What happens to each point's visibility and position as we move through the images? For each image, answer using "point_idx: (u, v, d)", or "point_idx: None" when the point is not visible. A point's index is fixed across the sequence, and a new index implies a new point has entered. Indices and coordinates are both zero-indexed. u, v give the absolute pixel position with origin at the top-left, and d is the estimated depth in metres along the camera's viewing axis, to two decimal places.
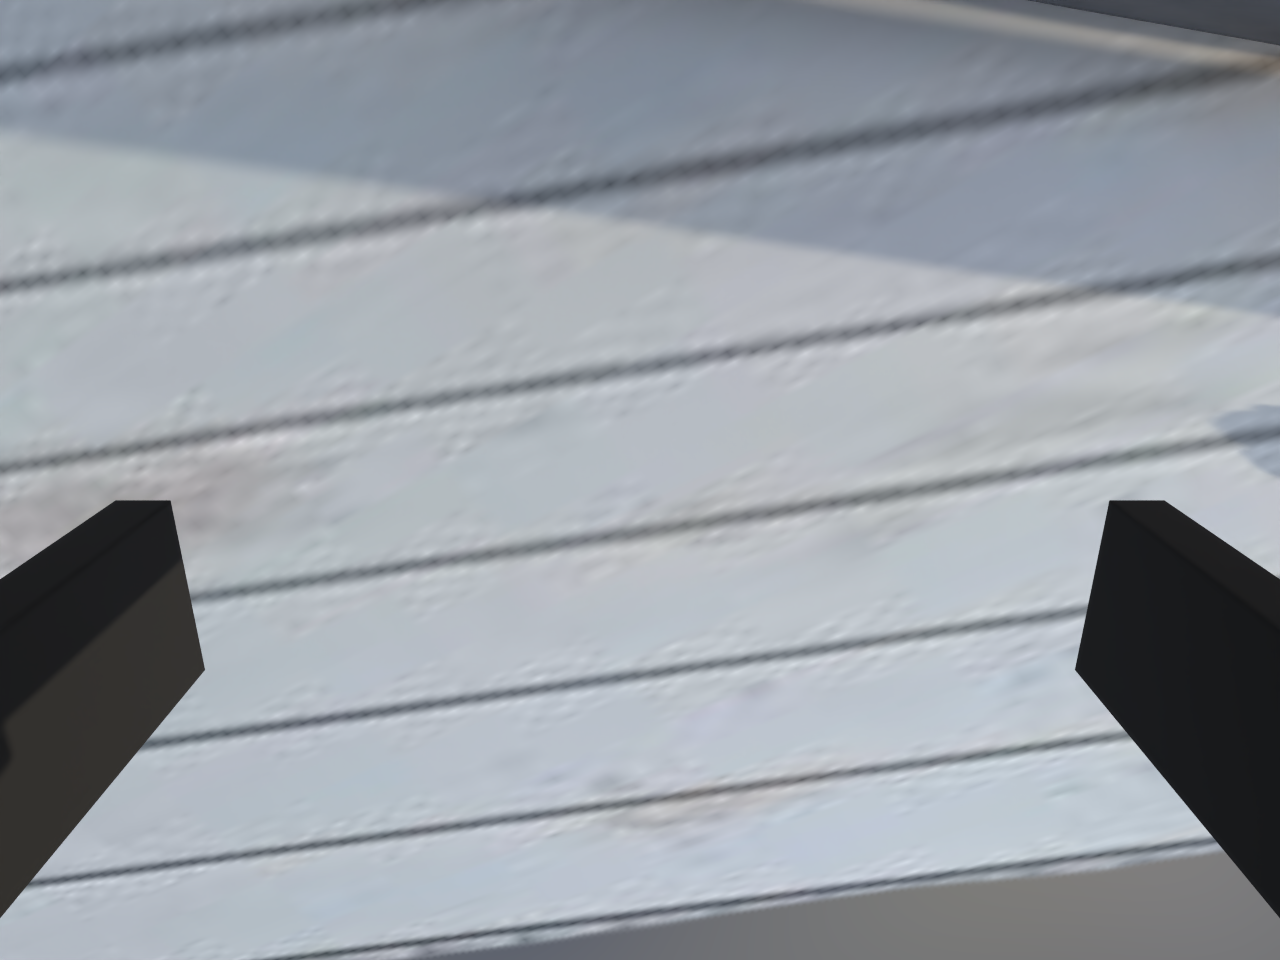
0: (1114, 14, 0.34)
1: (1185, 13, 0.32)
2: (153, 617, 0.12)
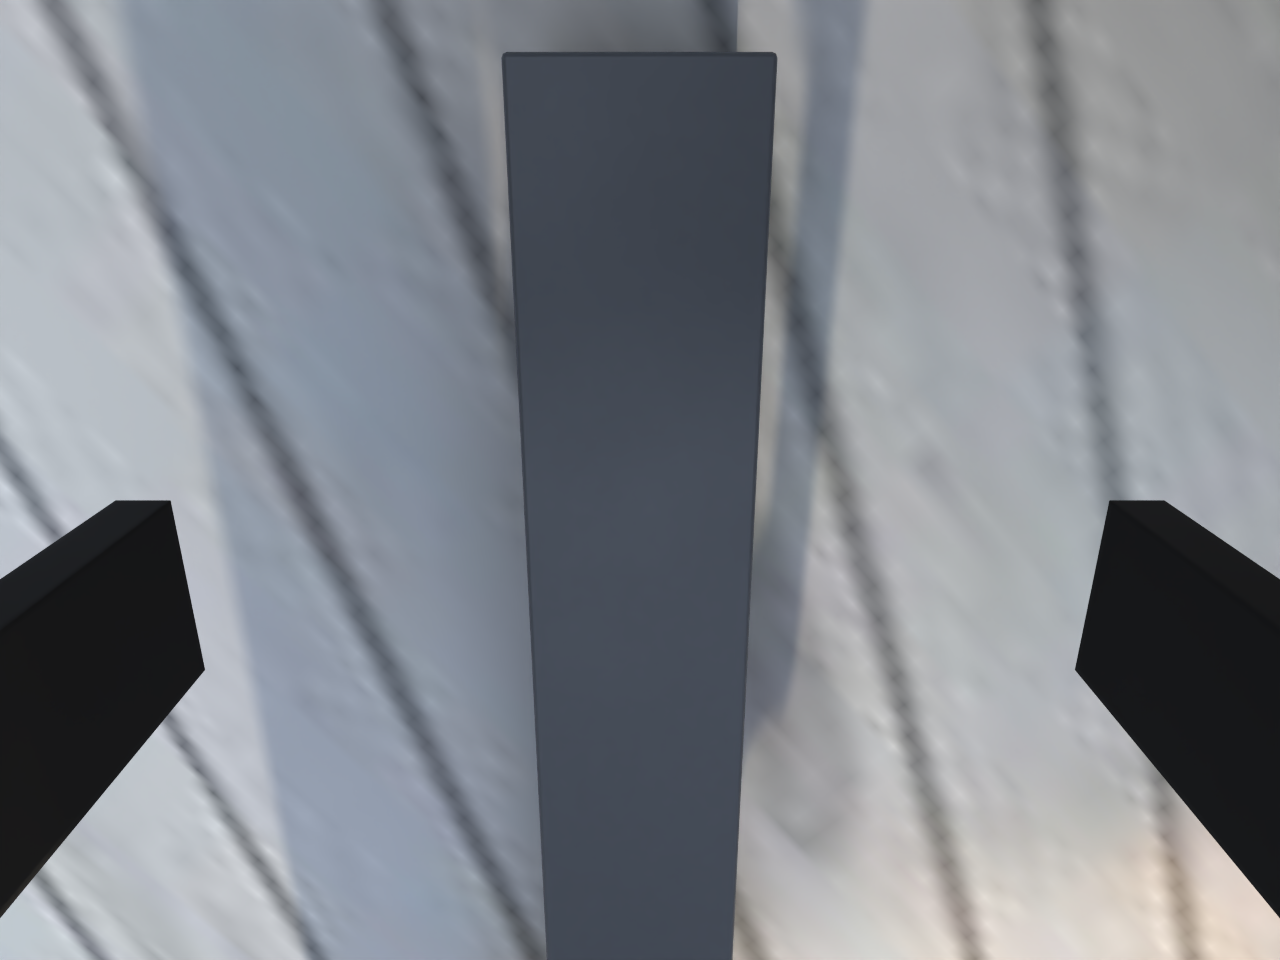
0: None
1: None
2: (153, 617, 0.12)
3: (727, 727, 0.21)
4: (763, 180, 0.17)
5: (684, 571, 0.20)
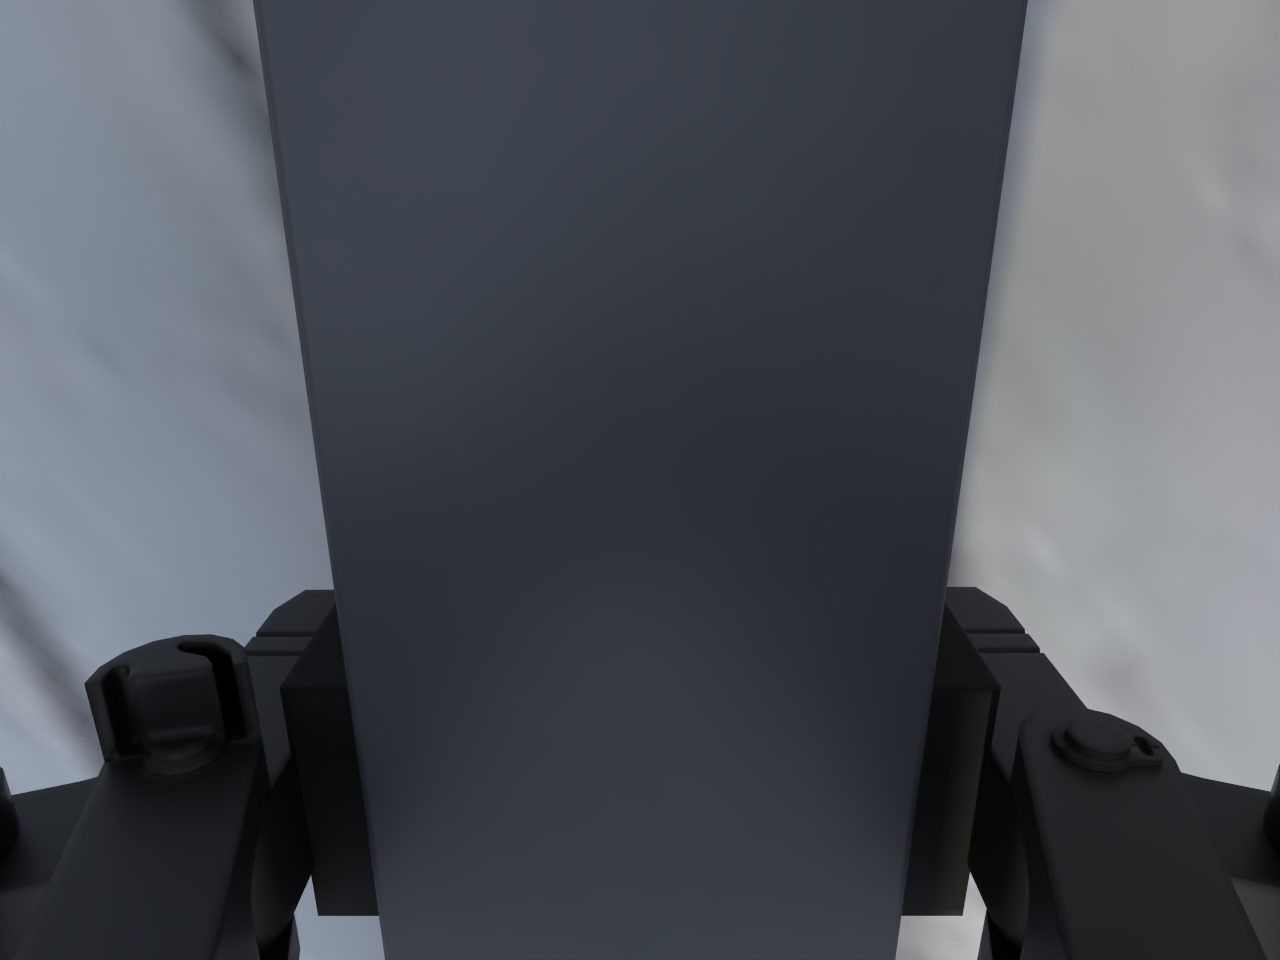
0: None
1: None
2: None
3: None
4: (977, 246, 0.06)
5: None
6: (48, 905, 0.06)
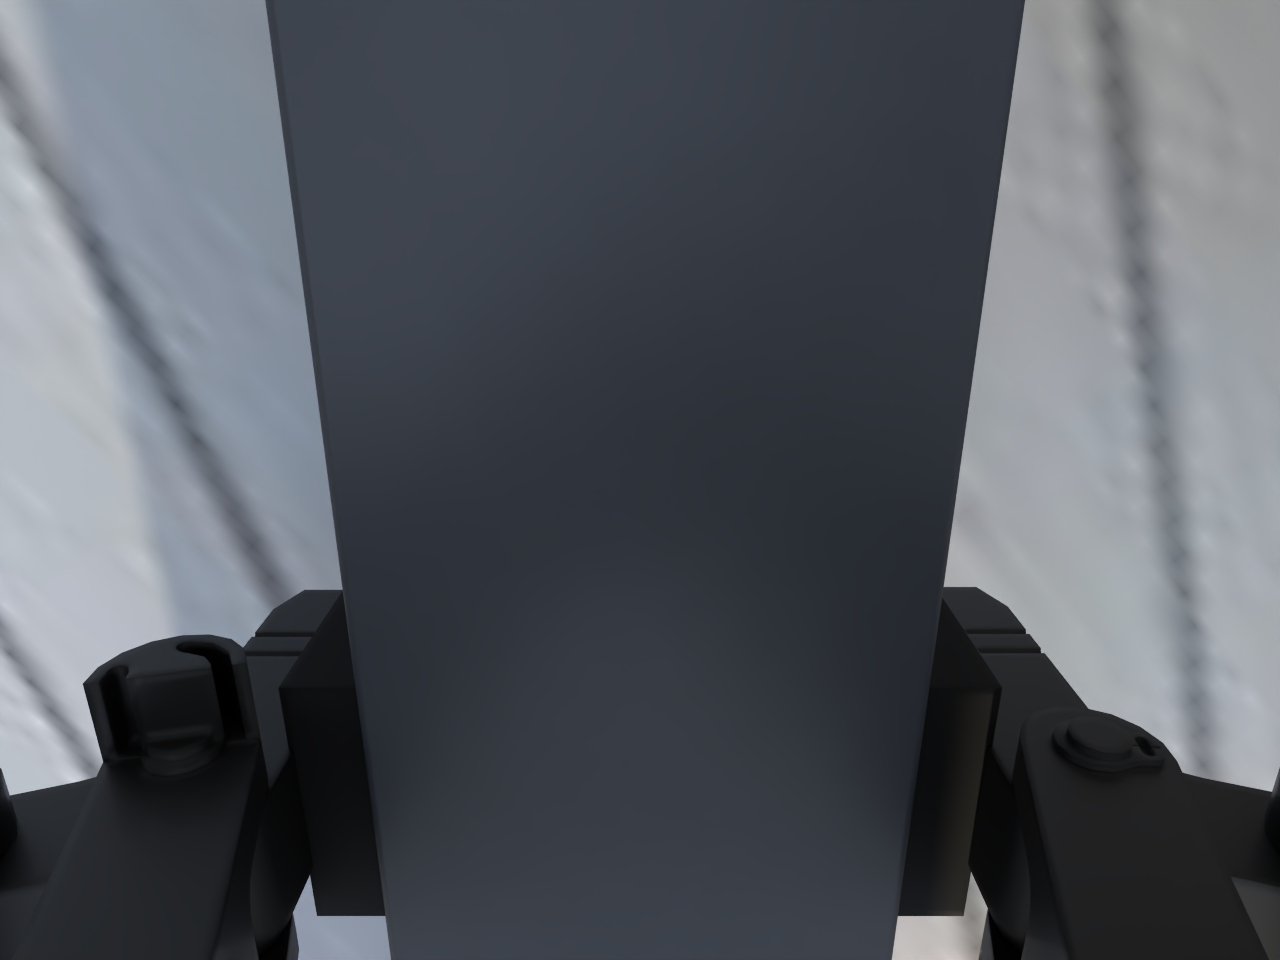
0: None
1: None
2: None
3: None
4: (975, 245, 0.06)
5: None
6: (46, 905, 0.06)
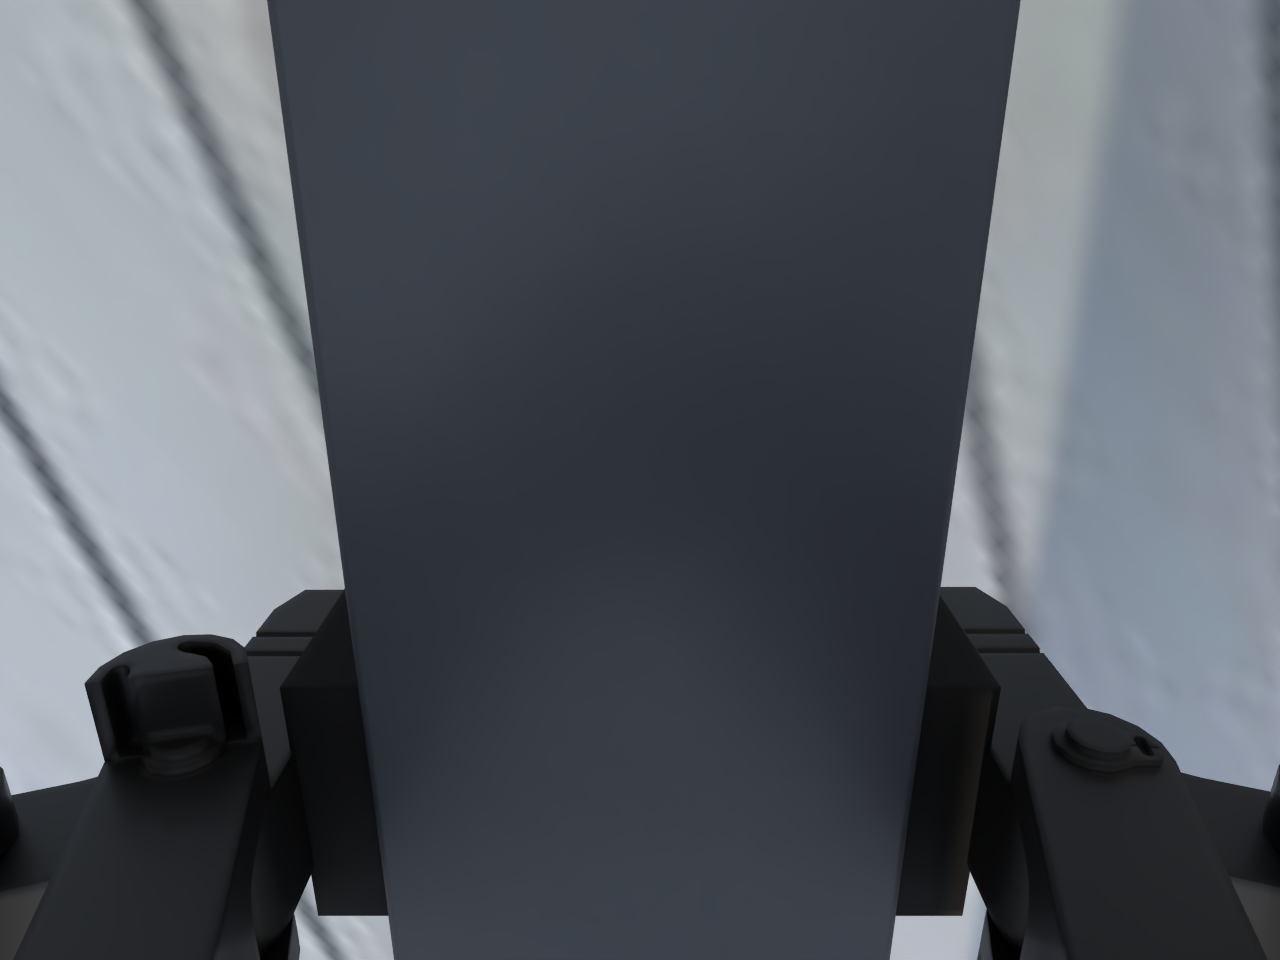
0: None
1: None
2: None
3: None
4: (971, 243, 0.06)
5: None
6: (48, 903, 0.06)
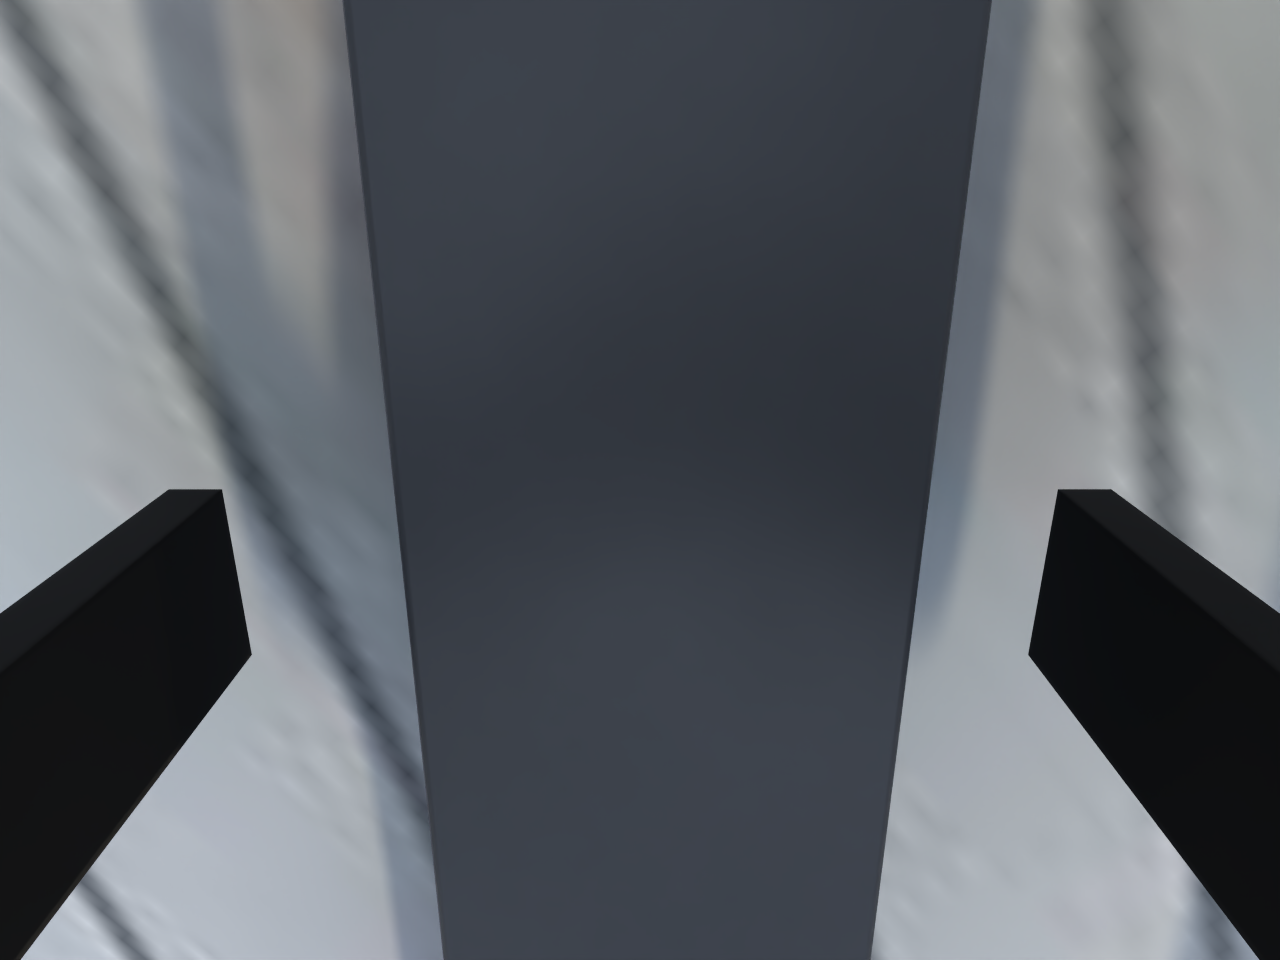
0: None
1: None
2: (206, 602, 0.12)
3: None
4: (942, 280, 0.07)
5: None
6: None
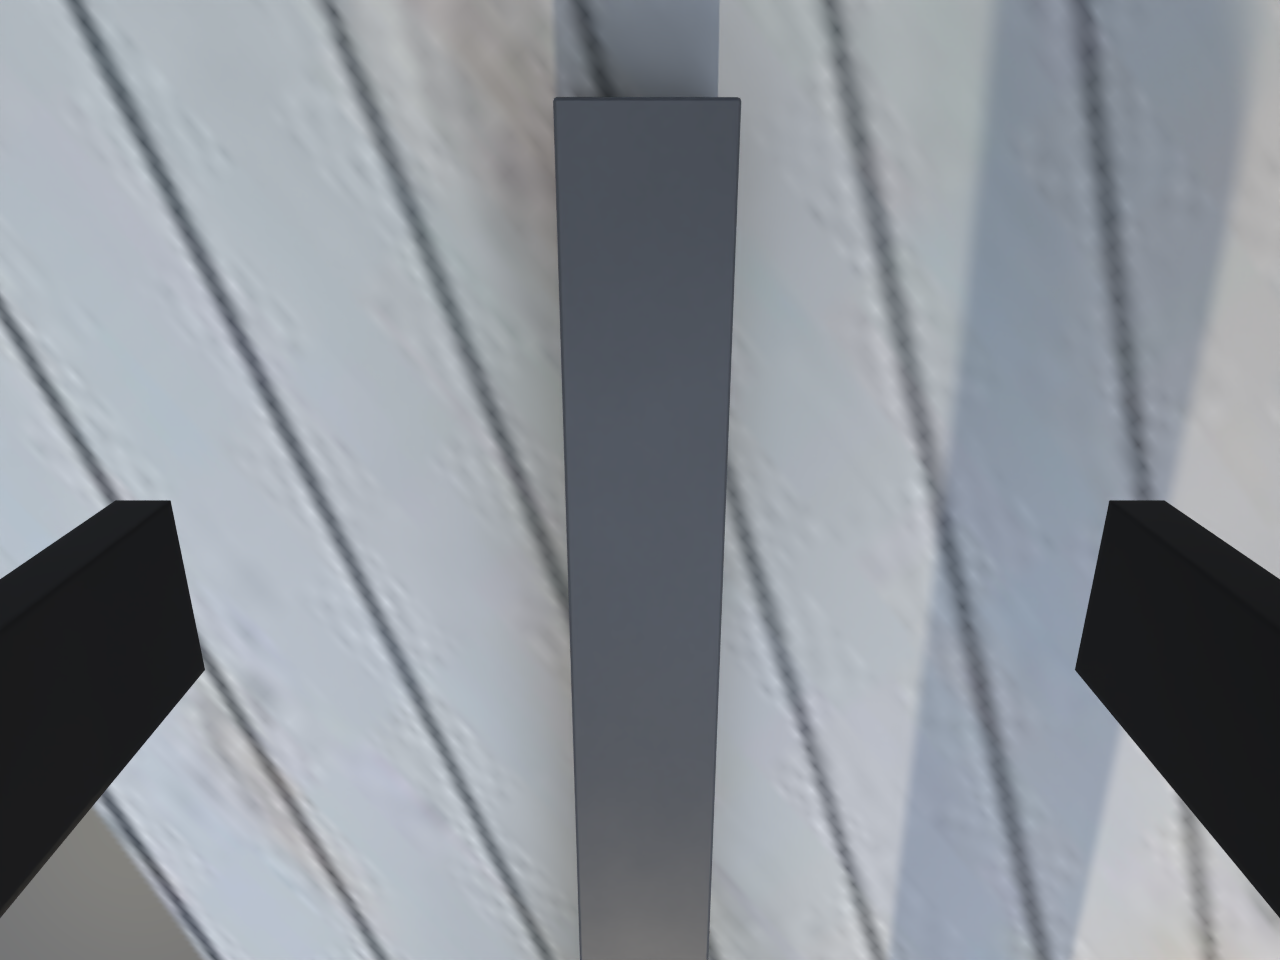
0: None
1: None
2: (153, 617, 0.12)
3: (710, 587, 0.29)
4: (732, 184, 0.24)
5: (678, 467, 0.27)
6: None
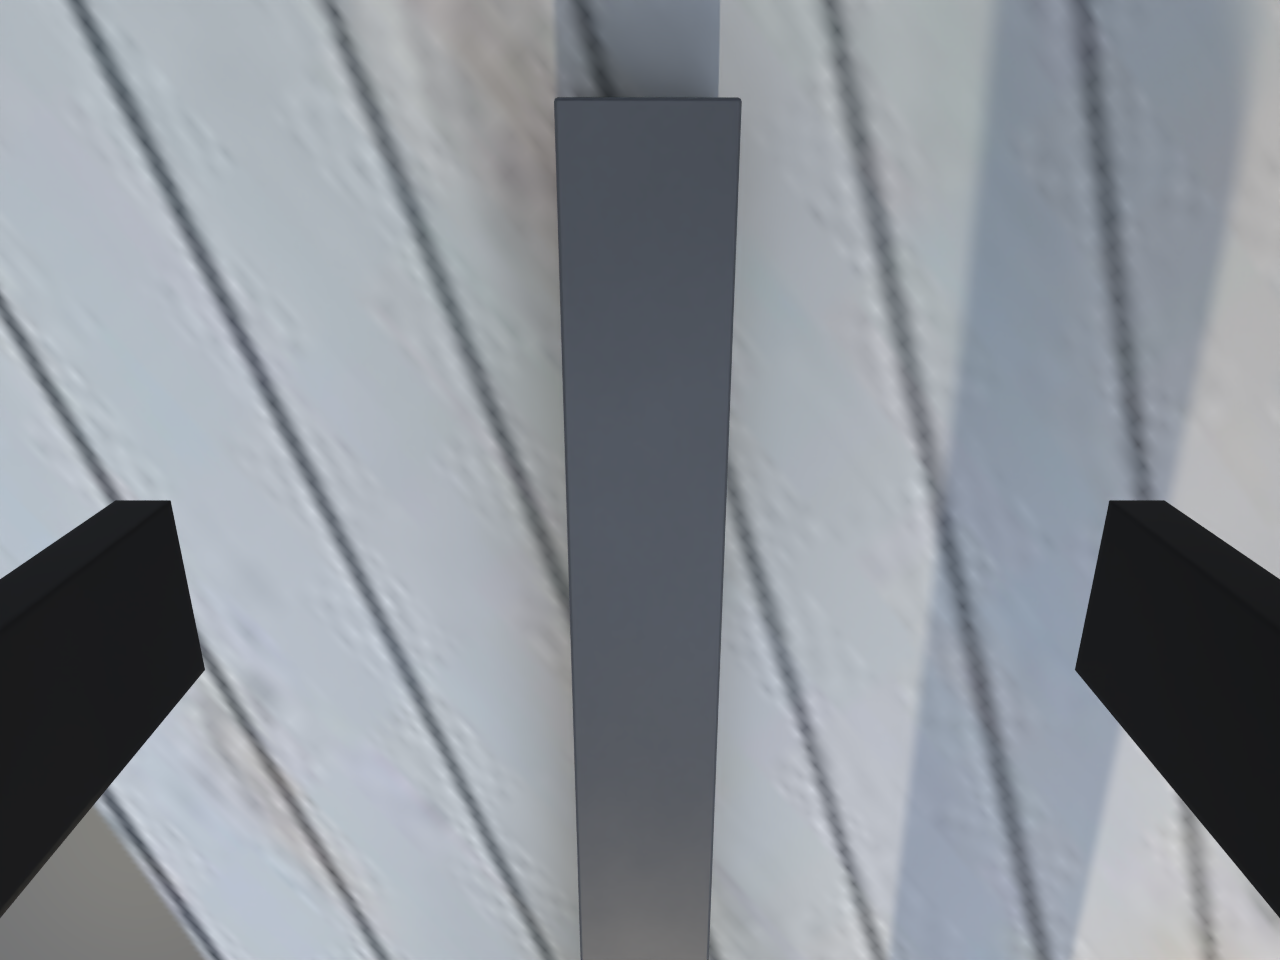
0: None
1: None
2: (153, 617, 0.12)
3: (710, 586, 0.29)
4: (733, 184, 0.24)
5: (678, 466, 0.27)
6: None
